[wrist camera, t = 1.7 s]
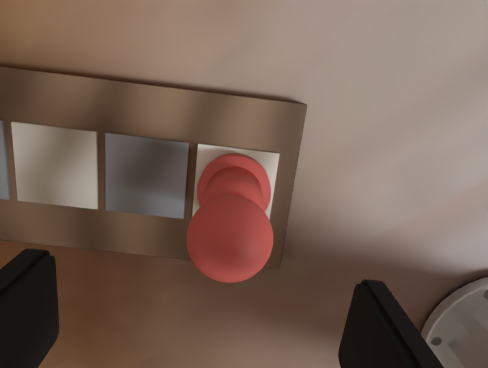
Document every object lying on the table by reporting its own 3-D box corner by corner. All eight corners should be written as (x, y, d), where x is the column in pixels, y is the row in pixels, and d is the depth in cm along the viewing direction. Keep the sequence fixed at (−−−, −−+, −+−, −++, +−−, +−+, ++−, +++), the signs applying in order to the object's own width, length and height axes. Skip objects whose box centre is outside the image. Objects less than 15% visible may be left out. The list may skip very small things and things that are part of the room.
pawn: (274, 157, 22) (296, 212, 13) (264, 223, 24) (277, 314, 15) (202, 148, 22) (172, 198, 13) (196, 216, 24) (166, 303, 14)
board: (304, 103, 23) (307, 105, 21) (277, 261, 26) (279, 270, 25) (-95, 54, 22) (-117, 52, 20) (-67, 224, 25) (-84, 232, 24)
